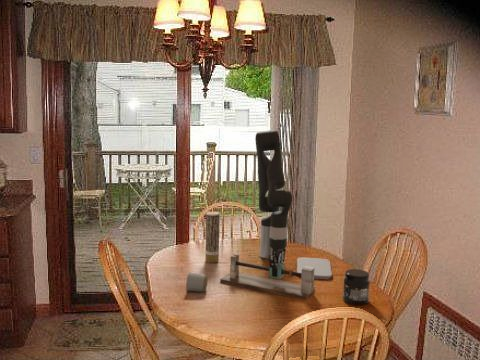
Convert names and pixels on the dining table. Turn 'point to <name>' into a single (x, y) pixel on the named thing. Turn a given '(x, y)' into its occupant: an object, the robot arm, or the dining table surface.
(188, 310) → the dining table surface
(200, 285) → the ceramic mug
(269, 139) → the robot arm
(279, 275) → the sleeve
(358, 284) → the supplement container
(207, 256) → the paper tube
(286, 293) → the stand
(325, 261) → the tablet
